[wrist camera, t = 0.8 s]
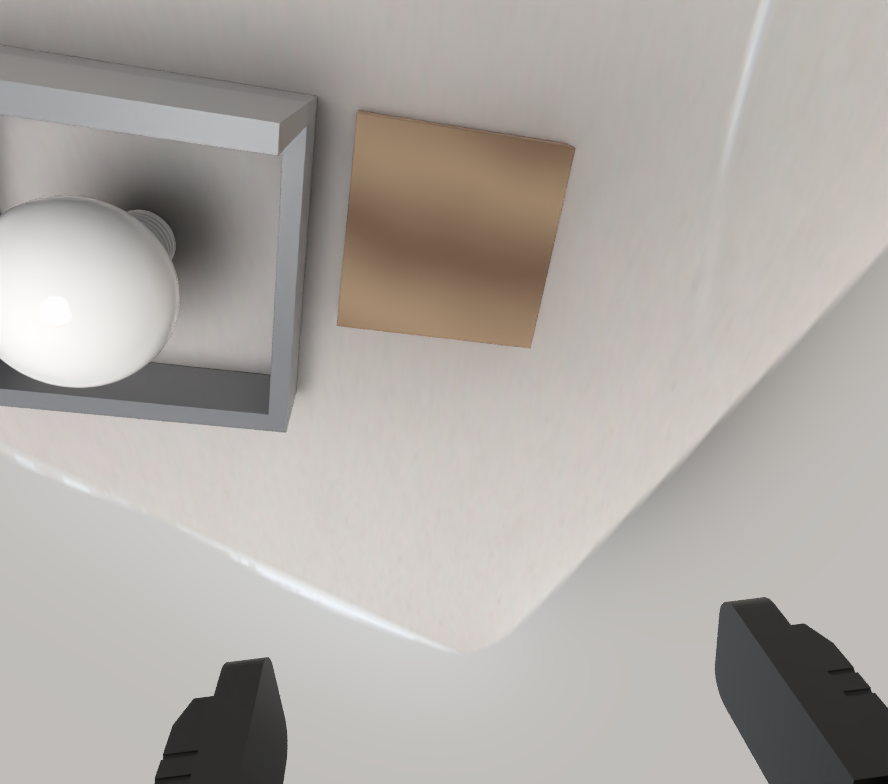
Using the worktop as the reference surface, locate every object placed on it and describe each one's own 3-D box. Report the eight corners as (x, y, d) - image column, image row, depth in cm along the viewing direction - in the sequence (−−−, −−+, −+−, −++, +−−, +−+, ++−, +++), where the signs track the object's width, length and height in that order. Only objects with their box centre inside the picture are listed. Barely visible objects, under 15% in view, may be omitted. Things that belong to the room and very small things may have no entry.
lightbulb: (102, 131, 28) (-45, 174, 19) (247, 212, 30) (182, 289, 21) (50, 262, 31) (-107, 363, 21) (188, 330, 32) (104, 452, 23)
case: (-43, 38, 27) (-329, 29, 16) (317, 96, 29) (279, 123, 18) (-2, 362, 32) (-191, 517, 22) (296, 392, 34) (257, 548, 24)
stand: (358, 110, 29) (357, 113, 28) (566, 143, 30) (575, 148, 29) (338, 314, 33) (337, 325, 31) (524, 336, 34) (530, 348, 33)
